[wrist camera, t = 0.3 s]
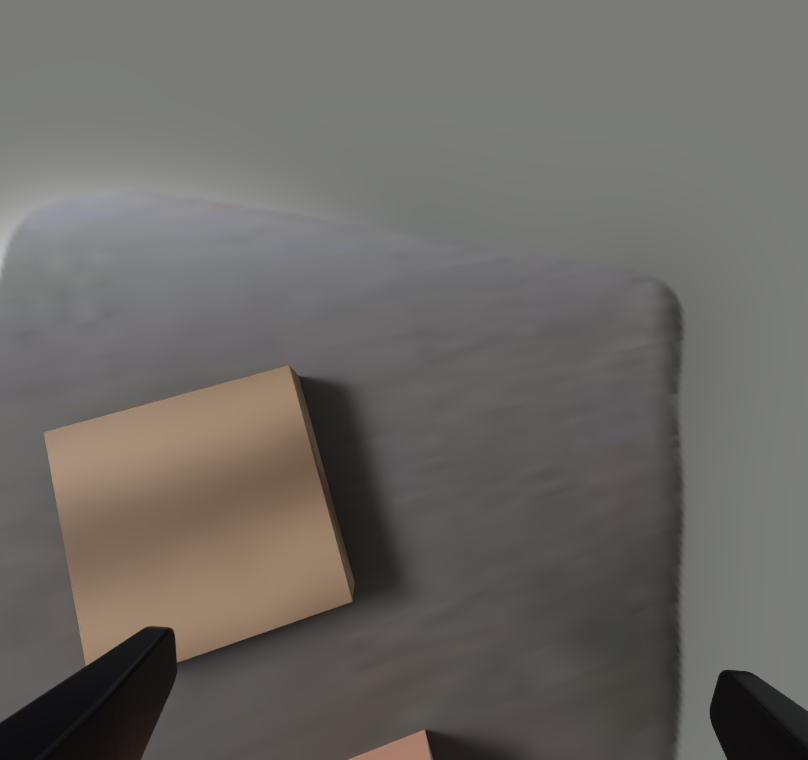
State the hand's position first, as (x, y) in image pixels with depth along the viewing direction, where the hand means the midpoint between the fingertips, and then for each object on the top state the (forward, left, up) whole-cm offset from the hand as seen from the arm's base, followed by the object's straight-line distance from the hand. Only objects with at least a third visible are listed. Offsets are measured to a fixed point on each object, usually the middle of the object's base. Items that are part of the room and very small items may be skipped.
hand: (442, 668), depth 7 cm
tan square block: (+3, +7, -14) cm, 16 cm away
